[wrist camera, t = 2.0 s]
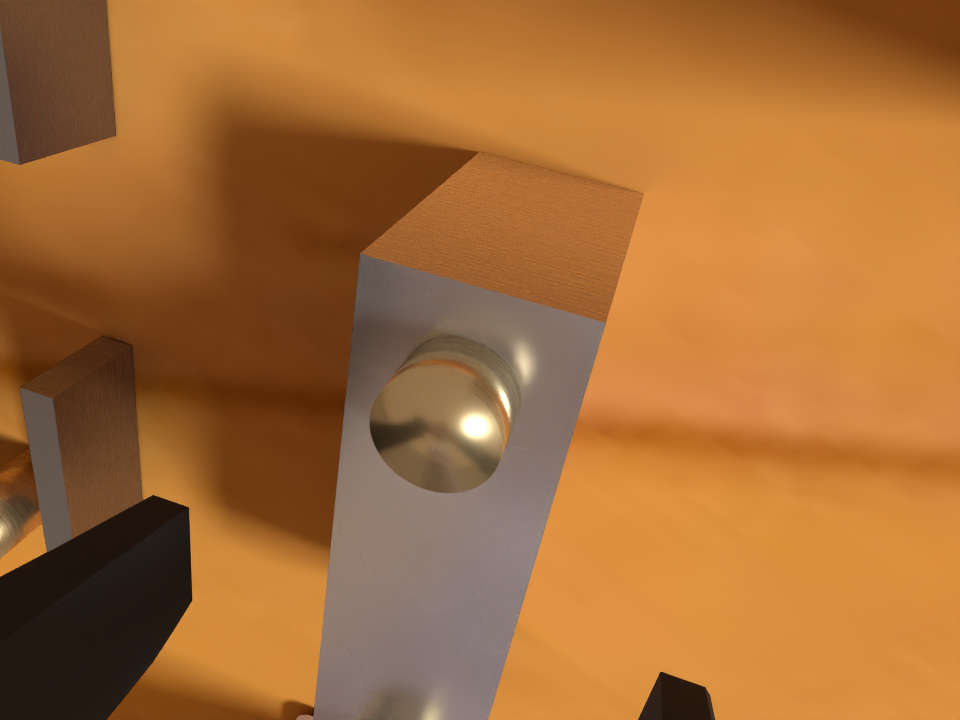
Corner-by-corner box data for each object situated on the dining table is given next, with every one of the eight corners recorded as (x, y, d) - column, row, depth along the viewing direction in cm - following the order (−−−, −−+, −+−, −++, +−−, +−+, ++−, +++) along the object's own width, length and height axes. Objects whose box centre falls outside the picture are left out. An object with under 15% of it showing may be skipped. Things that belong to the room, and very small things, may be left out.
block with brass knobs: (518, 614, 19) (437, 888, 13) (406, 575, 19) (282, 826, 14) (644, 191, 13) (593, 363, 8) (481, 150, 14) (322, 285, 8)
